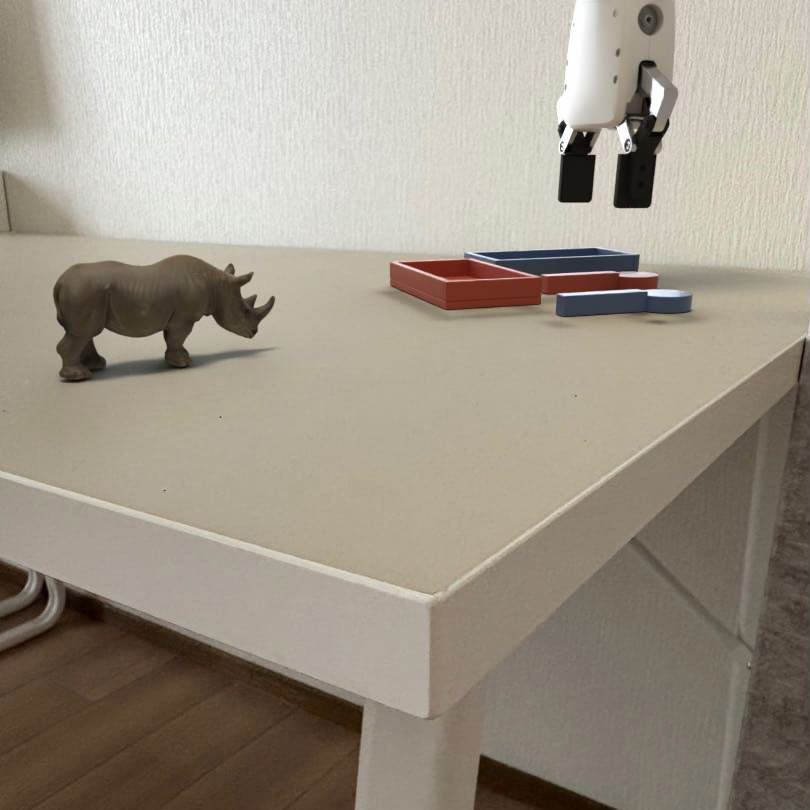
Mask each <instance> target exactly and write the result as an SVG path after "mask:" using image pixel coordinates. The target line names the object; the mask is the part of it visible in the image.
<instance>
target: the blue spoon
mask: <svg viewBox="0 0 810 810" xmlns="http://www.w3.org/2000/svg"><path fill="white" fill-rule="evenodd" d="M693 295H694V294H693V293H692V292H690V291H686V290H679V289H667V288H666V289H665V288H664V289H662V288H660V289H659V288H657V289H652V290H640V289H632V290H610V291H592V292H574V293H556V299H555V300H556V301H555V315H558V316H561V317H566V318H567V317H581V316H595V315H598V316H599V315H611V314H627V313H641V312H642V313H643V312H645V313H646V312H647V313H655V314H681V313H687V312H690V311H692V304H693Z"/></svg>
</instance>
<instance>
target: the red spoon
mask: <svg viewBox="0 0 810 810" xmlns="http://www.w3.org/2000/svg"><path fill="white" fill-rule="evenodd" d="M659 276H660V275H659V274H658V273H656V272H648V271H638V272H614V271H601V272H581V273H560V274H542V275H541V277H542V292H541V294H542V293H543V294H546V295H552V294H553V295H554V294H555V295H557V294H560V293H578V292H596V291H614V290H632V289H640V290H652V289H658V285H659Z"/></svg>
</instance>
